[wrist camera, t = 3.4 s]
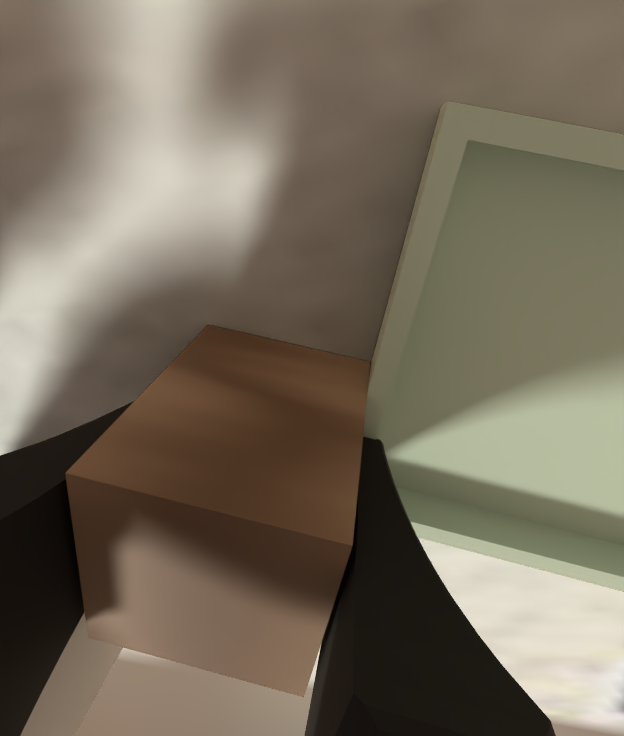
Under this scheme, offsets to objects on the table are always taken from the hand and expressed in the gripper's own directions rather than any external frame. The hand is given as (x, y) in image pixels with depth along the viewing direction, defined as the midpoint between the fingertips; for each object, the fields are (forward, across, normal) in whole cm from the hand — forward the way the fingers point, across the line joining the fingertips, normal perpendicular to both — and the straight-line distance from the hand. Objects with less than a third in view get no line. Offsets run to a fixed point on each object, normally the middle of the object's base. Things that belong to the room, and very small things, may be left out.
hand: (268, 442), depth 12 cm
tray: (+2, -7, -3) cm, 8 cm away
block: (+2, 0, 0) cm, 2 cm away
